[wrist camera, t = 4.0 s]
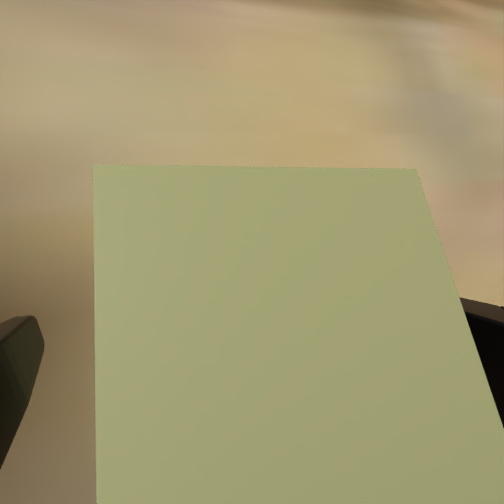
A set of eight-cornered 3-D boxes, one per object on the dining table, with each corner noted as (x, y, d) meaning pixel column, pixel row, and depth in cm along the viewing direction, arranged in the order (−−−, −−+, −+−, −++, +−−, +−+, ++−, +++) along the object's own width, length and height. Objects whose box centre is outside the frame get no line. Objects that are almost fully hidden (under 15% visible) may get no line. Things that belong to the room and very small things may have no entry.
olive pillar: (242, 379, 15) (531, 513, 3) (160, 396, 14) (98, 724, 2) (232, 301, 16) (415, 168, 4) (154, 310, 15) (92, 164, 3)
